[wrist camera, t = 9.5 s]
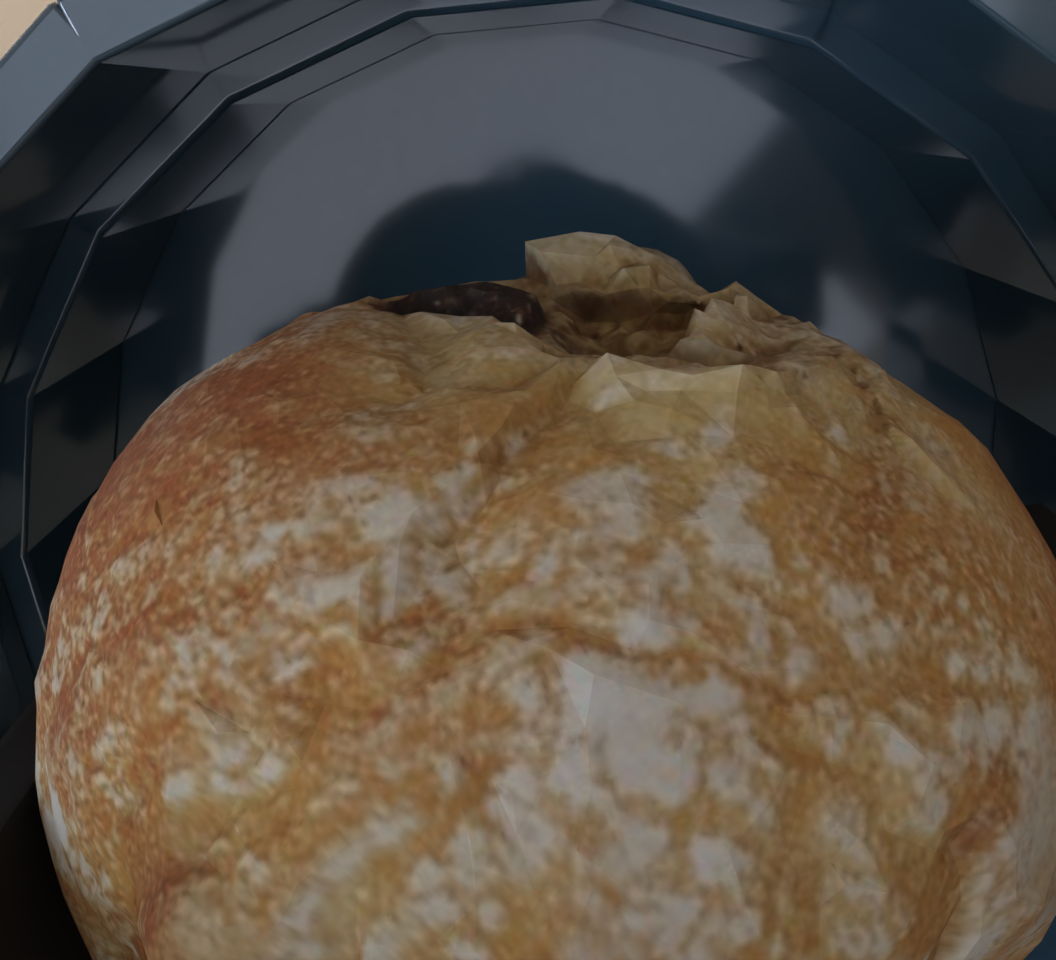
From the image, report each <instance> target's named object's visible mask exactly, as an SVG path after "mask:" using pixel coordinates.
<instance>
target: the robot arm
mask: <svg viewBox="0 0 1056 960" xmlns="http://www.w3.org/2000/svg"><path fill="white" fill-rule="evenodd" d="M1024 506H1025V508H1026V509H1027V511H1028V512H1029V514H1030V516H1031V517H1032V519H1033V521H1034V523H1035V524H1036V526H1037V528H1038V529H1039V531H1040V533H1041V535H1042V536H1043V538H1044V540H1045V541H1046V543H1047V545H1048V547H1049V548H1050V550H1051V552H1052V554H1053V556H1054V558H1055V560H1056V514H1054V513H1053V512H1052V511H1051V510H1049V509H1048V508H1047V507H1045V506H1044V505H1043V504H1042V503H1038V504H1031V505H1024ZM36 712H37V705H36V696H35V697H34V698H33V700H32V701H31V702H30V703H29V705H28V706H27V707H26V708H25V710H24V711H23V712H22V713H21V715H20V716H19V717H18V718H17V720H16V721H15V722H14V723H13V725H12V726H11V727H10V728H9V730H8V731H7V732H6V733H5V735H4V736H3V737H2V738H1V740H0V960H92V958H91V956H90V953H89V951H88V949H87V947H86V945H85V943H84V941H83V938H82V936H81V934H80V932H79V930H78V928H77V926H76V924H75V922H74V919H73V917H72V915H71V912H70V910H69V908H68V905H67V903H66V901H65V898H64V896H63V894H62V891H61V887H60V884H59V881H58V878H57V875H56V872H55V868H54V865H53V862H52V858H51V854H50V850H49V847H48V843H47V839H46V835H45V831H44V827H43V823H42V819H41V815H40V811H39V803H38V796H37V788H36V781H35V764H36Z"/></svg>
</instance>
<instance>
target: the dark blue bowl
mask: <svg viewBox="0 0 1056 960" xmlns="http://www.w3.org/2000/svg"><path fill="white" fill-rule="evenodd" d="M574 232H589V233H598V234H607V235H615V236H617V237H619V238H621V239H623V240H625V241H627V242H629V243H631V244H633V245H635V246H638V247H644V248H651V249H657V250H660V251H662V252H663V253H665V254H667V255H669V256H671V257H673V258H675V259H676V260H678V261H680V263H681V264H682V265H683V266H684V267H685V268H686V269H687V270H688V272H689V273H690V275H691V276H692V278H693V279H694V281H695V282H696V284H697V285H699V286H700V287H702V288H704V289H705V290H707V291H708V292H709V293H714V292H718V291H719V290H721V289H723V288H725V287H726V286H728V285H730V284H732V283H733V282H735V281H737V282H738V283H739V284H741V285H742V286H743V287H745V288H746V289H747V290H749V291H750V292H751V293H753V294H754V295H755V296H756V297H758V298H759V299H761V300H762V301H764V302H765V303H766V304H768V305H769V306H771V307H772V308H774V309H775V310H777V311H778V312H779V313H781V314H782V315H787V316H793V317H795V318H796V319H798V320H800V321H802V322H808V321H810V322H811V323H812V324H813V325H814V326H815V327H816V328H818V329H819V330H820V331H821V332H822V333H823V334H824V335H827V336H830V337H833V338H836V339H839V340H842V341H843V342H845V343H846V344H848V345H849V346H851V347H852V348H854V349H855V350H857V351H858V352H860V353H861V354H863V355H864V356H866V357H867V358H869V359H870V360H872V361H873V362H875V363H876V364H878V365H879V366H880V367H881V368H882V369H883V370H885V371H886V372H887V374H888V375H890V376H891V377H893V378H895V379H896V380H898V381H900V382H902V383H903V384H904V385H906V386H907V387H909V388H910V389H912V390H913V391H915V392H916V393H917V394H919V395H920V396H922V397H923V398H925V399H926V400H928V401H929V402H931V403H932V404H933V405H935V406H936V407H938V408H939V409H941V410H942V411H944V412H945V413H946V414H948V415H950V416H951V417H953V418H955V419H956V420H958V421H959V422H960V423H961V424H962V425H963V426H964V427H966V428H967V429H968V430H969V431H970V432H971V433H972V434H973V435H974V436H975V437H976V438H977V439H978V440H979V441H980V442H981V443H982V444H983V445H984V446H985V447H986V448H987V449H988V450H989V452H990V453H991V455H992V456H993V458H994V460H995V461H996V463H997V464H998V466H999V467H1000V469H1001V470H1002V472H1003V474H1004V475H1005V477H1006V478H1007V480H1008V481H1009V483H1010V484H1011V486H1012V488H1013V489H1014V491H1015V492H1016V494H1017V495H1018V497H1019V498H1020V500H1021V501H1022V503H1023V504H1024V505H1031V504H1038V503H1042V504H1043V505H1044V506H1045V507H1047V508H1048V509H1049V510H1051V511H1052V512H1053V513H1054V514H1056V0H57V2H53V3H51V4H49V5H48V6H47V7H46V8H45V9H44V10H43V11H42V13H41V14H40V15H39V16H38V17H37V18H36V19H35V21H34V22H33V23H32V24H31V25H30V26H29V27H28V29H27V30H26V31H25V32H24V33H23V34H22V35H21V37H20V38H19V39H18V40H17V41H16V42H15V44H14V45H13V46H12V47H11V48H10V49H9V50H8V52H7V53H6V54H5V55H4V56H3V57H2V58H1V60H0V740H1V738H2V737H3V736H4V735H5V733H6V732H7V731H8V730H9V728H10V727H11V726H12V725H13V723H14V722H15V721H16V720H17V718H18V717H19V716H20V715H21V713H22V712H23V711H24V710H25V708H26V707H27V706H28V705H29V703H30V702H31V701H32V700H33V698H34V697H35V696H36V695H35V684H34V682H35V679H36V675H37V672H38V669H39V666H40V663H41V660H42V656H43V653H44V648H45V641H46V634H47V626H48V619H49V612H50V606H51V603H52V600H53V597H54V594H55V591H56V588H57V585H58V582H59V579H60V576H61V572H62V568H63V565H64V561H65V557H66V555H67V552H68V549H69V547H70V544H71V542H72V539H73V536H74V534H75V531H76V529H77V526H78V523H79V521H80V520H81V518H82V516H83V514H84V512H85V510H86V508H87V506H88V504H89V502H90V500H91V498H92V497H93V496H94V495H95V494H96V492H97V491H98V490H99V488H100V486H101V484H102V482H103V480H104V479H105V477H106V475H107V473H108V471H109V470H110V468H111V466H112V464H113V462H114V461H115V460H116V459H117V457H118V456H119V455H120V454H121V452H122V451H123V450H124V449H125V447H126V446H127V445H128V443H129V442H130V441H131V439H132V438H133V437H134V436H135V434H136V433H137V432H138V430H139V429H140V428H141V427H142V425H143V424H144V423H145V421H146V420H147V419H148V417H149V416H150V415H151V414H152V413H153V412H154V411H155V410H156V409H157V408H158V407H159V406H160V405H161V404H162V403H163V402H164V401H165V400H166V399H167V398H168V397H169V396H170V395H171V394H172V393H173V392H174V391H175V390H176V389H177V388H179V387H180V386H182V385H183V384H185V383H186V382H188V381H189V380H191V379H192V378H194V377H195V376H197V375H198V374H200V373H201V372H203V371H204V370H206V369H208V368H209V367H211V366H213V365H214V364H216V363H218V362H219V361H221V360H223V359H224V358H226V357H228V356H229V355H231V354H233V353H235V352H237V351H240V350H242V349H244V348H246V347H248V346H250V345H252V344H253V343H255V342H257V341H259V340H261V339H263V338H265V337H266V336H268V335H270V334H272V333H274V332H276V331H278V330H280V329H281V328H283V327H285V326H286V325H288V324H289V323H291V322H292V321H294V320H295V319H296V318H298V317H299V316H301V315H303V314H306V313H309V312H323V311H326V310H328V309H331V308H334V307H336V306H340V305H344V304H348V303H352V302H355V301H358V300H360V299H363V298H366V297H368V296H371V297H374V298H377V299H380V300H382V299H386V298H391V297H395V296H403V295H410V294H411V293H413V292H415V291H418V290H424V289H431V288H437V287H444V286H454V285H460V284H464V283H469V282H473V281H504V280H517V279H519V278H521V277H523V276H526V258H525V241H531V240H536V239H542V238H547V237H552V236H558V235H563V234H569V233H574ZM1024 960H1056V915H1055V917H1054V919H1053V921H1052V923H1051V925H1050V926H1049V928H1048V930H1047V932H1046V934H1045V935H1044V937H1043V939H1042V941H1041V942H1040V943H1039V944H1038V945H1037V946H1036V947H1035V948H1034V949H1033V950H1032V951H1031V952H1030V953H1029V954H1028V955H1027V957H1026V958H1025V959H1024Z"/></svg>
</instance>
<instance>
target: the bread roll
mask: <svg viewBox="0 0 1056 960" xmlns="http://www.w3.org/2000/svg"><path fill="white" fill-rule="evenodd" d="M525 258H526V276H523V277H521V278H519V279H517V280H504V281H473V282H469V283H464V284H460V285H454V286H444V287H437V288H431V289H424V290H418V291H415V292H413V293H411V294H410V295H403V296H395V297H391V298H386V299H382V300H380V299H377V298H374V297H371V296H368V297H366V298H363V299H360V300H358V301H355V302H352V303H348V304H344V305H340V306H336V307H334V308H331V309H328V310H326V311H323V312H309V313H306V314H303V315H301V316H299V317H298V318H296V319H295V320H294V321H292V322H291V323H289V324H288V325H286V326H285V327H283V328H281V329H280V330H278V331H276V332H274V333H272V334H270V335H268V336H266V337H265V338H263V339H261V340H259V341H257V342H255V343H253V344H252V345H250V346H248V347H246V348H244V349H242V350H240V351H237V352H235V353H233V354H231V355H229V356H228V357H226V358H224V359H223V360H221V361H219V362H218V363H216V364H214V365H213V366H211V367H209V368H208V369H206V370H204V371H203V372H201V373H200V374H198V375H197V376H195V377H194V378H192V379H191V380H189V381H188V382H186V383H185V384H183V385H182V386H180V387H179V388H177V389H176V390H175V391H174V392H173V393H172V394H171V395H170V396H169V397H168V398H167V399H166V400H165V401H164V402H163V403H162V404H161V405H160V406H159V407H158V408H157V409H156V410H155V411H154V412H153V413H152V414H151V415H150V416H149V417H148V419H147V420H146V421H145V423H144V424H143V425H142V427H141V428H140V429H139V430H138V432H137V433H136V434H135V436H134V437H133V438H132V439H131V441H130V442H129V443H128V445H127V446H126V447H125V449H124V450H123V451H122V452H121V454H120V455H119V456H118V457H117V459H116V460H115V461H114V462H113V464H112V466H111V468H110V470H109V471H108V473H107V475H106V477H105V479H104V480H103V482H102V484H101V486H100V488H99V490H98V491H97V492H96V494H95V495H94V496H93V497H92V498H91V500H90V502H89V504H88V506H87V508H86V510H85V512H84V514H83V516H82V518H81V520H80V521H79V523H78V526H77V529H76V531H75V534H74V536H73V539H72V542H71V544H70V547H69V549H68V552H67V555H66V557H65V561H64V565H63V568H62V572H61V576H60V579H59V582H58V585H57V588H56V591H55V594H54V597H53V600H52V603H51V606H50V612H49V619H48V626H47V634H46V641H45V648H44V653H43V656H42V660H41V663H40V666H39V669H38V672H37V675H36V679H35V682H34V684H35V695H36V705H37V712H36V764H35V781H36V788H37V796H38V803H39V811H40V815H41V819H42V823H43V827H44V831H45V835H46V839H47V843H48V847H49V850H50V854H51V858H52V862H53V865H54V868H55V872H56V875H57V878H58V881H59V884H60V887H61V891H62V894H63V896H64V898H65V901H66V903H67V905H68V908H69V910H70V912H71V915H72V917H73V919H74V922H75V924H76V926H77V928H78V930H79V932H80V934H81V936H82V938H83V941H84V943H85V945H86V947H87V949H88V951H89V953H90V956H91V958H92V960H1024V959H1025V958H1026V957H1027V955H1028V954H1029V953H1030V952H1031V951H1032V950H1033V949H1034V948H1035V947H1036V946H1037V945H1038V944H1039V943H1040V942H1041V941H1042V939H1043V937H1044V935H1045V934H1046V932H1047V930H1048V928H1049V926H1050V925H1051V923H1052V921H1053V919H1054V917H1055V915H1056V560H1055V558H1054V556H1053V554H1052V552H1051V550H1050V548H1049V547H1048V545H1047V543H1046V541H1045V540H1044V538H1043V536H1042V535H1041V533H1040V531H1039V529H1038V528H1037V526H1036V524H1035V523H1034V521H1033V519H1032V517H1031V516H1030V514H1029V512H1028V511H1027V509H1026V508H1025V506H1024V504H1023V503H1022V501H1021V500H1020V498H1019V497H1018V495H1017V494H1016V492H1015V491H1014V489H1013V488H1012V486H1011V484H1010V483H1009V481H1008V480H1007V478H1006V477H1005V475H1004V474H1003V472H1002V470H1001V469H1000V467H999V466H998V464H997V463H996V461H995V460H994V458H993V456H992V455H991V453H990V452H989V450H988V449H987V448H986V447H985V446H984V445H983V444H982V443H981V442H980V441H979V440H978V439H977V438H976V437H975V436H974V435H973V434H972V433H971V432H970V431H969V430H968V429H967V428H966V427H964V426H963V425H962V424H961V423H960V422H959V421H958V420H956V419H955V418H953V417H951V416H950V415H948V414H946V413H945V412H944V411H942V410H941V409H939V408H938V407H936V406H935V405H933V404H932V403H931V402H929V401H928V400H926V399H925V398H923V397H922V396H920V395H919V394H917V393H916V392H915V391H913V390H912V389H910V388H909V387H907V386H906V385H904V384H903V383H902V382H900V381H898V380H896V379H895V378H893V377H891V376H890V375H888V374H887V372H886V371H885V370H883V369H882V368H881V367H880V366H879V365H878V364H876V363H875V362H873V361H872V360H870V359H869V358H867V357H866V356H864V355H863V354H861V353H860V352H858V351H857V350H855V349H854V348H852V347H851V346H849V345H848V344H846V343H845V342H843V341H842V340H839V339H836V338H833V337H830V336H827V335H824V334H823V333H822V332H821V331H820V330H819V329H818V328H816V327H815V326H814V325H813V324H812V323H811V322H810V321H808V322H802V321H800V320H798V319H796V318H795V317H793V316H787V315H782V314H781V313H779V312H778V311H777V310H775V309H774V308H772V307H771V306H769V305H768V304H766V303H765V302H764V301H762V300H761V299H759V298H758V297H756V296H755V295H754V294H753V293H751V292H750V291H749V290H747V289H746V288H745V287H743V286H742V285H741V284H739V283H738V282H737V281H735V282H733V283H732V284H730V285H728V286H726V287H725V288H723V289H721V290H719V291H718V292H714V293H709V292H708V291H707V290H705V289H704V288H702V287H700V286H699V285H697V284H696V282H695V281H694V279H693V278H692V276H691V275H690V273H689V272H688V270H687V269H686V268H685V267H684V266H683V265H682V264H681V263H680V261H678V260H676V259H675V258H673V257H671V256H669V255H667V254H665V253H663V252H662V251H660V250H657V249H651V248H644V247H638V246H635V245H633V244H631V243H629V242H627V241H625V240H623V239H621V238H619V237H617V236H615V235H607V234H598V233H589V232H574V233H569V234H563V235H558V236H552V237H547V238H542V239H536V240H531V241H525Z"/></svg>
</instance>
